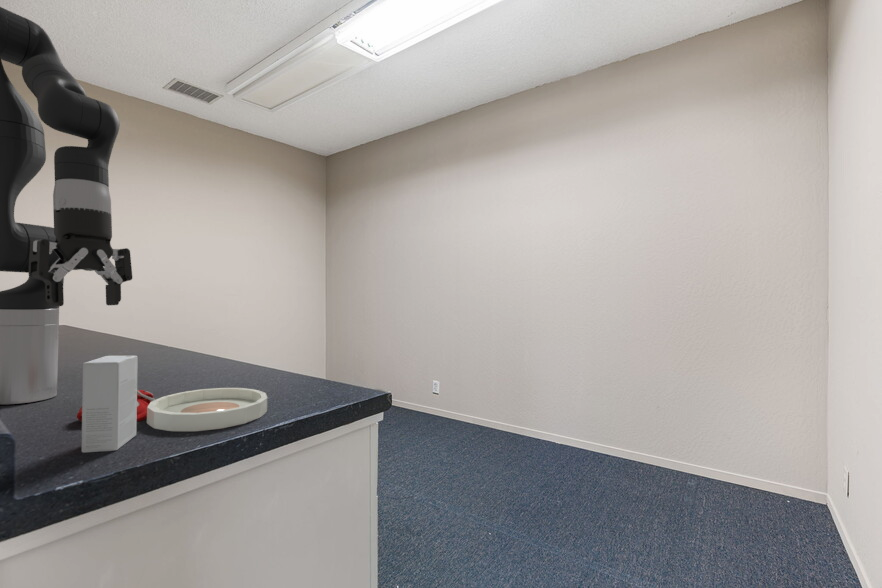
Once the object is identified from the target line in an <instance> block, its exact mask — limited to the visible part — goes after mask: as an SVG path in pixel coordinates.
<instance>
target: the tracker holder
mask: <svg viewBox="0 0 882 588" xmlns="http://www.w3.org/2000/svg"><path fill="white" fill-rule="evenodd" d="M154 400H156V399H155V398H154V394H153V393H152V392H150V391H147V390H144V389H139V388H137V423H138V422H140V421H143V420H147V407H148V405H149V404H150V402H152V401H154ZM76 418H77V420H79V422H82V406H81V407H80V409H79V410H78V412H77V414H76Z"/></svg>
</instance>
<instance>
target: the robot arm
mask: <svg viewBox="0 0 882 588" xmlns="http://www.w3.org/2000/svg"><path fill="white" fill-rule="evenodd" d="M3 61H5V62H7V63H11V64H13V65H15V66H18V67H21V76H22V80H23V81H24V83H25V85H26V86H27V88H28V89H29V91H30V92H31V93H32V94H33V95H34V97H35V98H36V101H37V112H38V116H37V113H35V112H34V110H33V109H32V108H31V106H30V105H29V104H28V102H27V101H26V100H25V99H24V97H23V96H22V95H21V94H20V92H19V91H18V89H16V87H15V85H13V83H12V81H11V80H10V79H9V76H8V75H7V72H6V70H5V69H4V65H3V63H2V62H3ZM39 118H40V119H39ZM40 120H41V121H40ZM41 122H43V123H44V124H45V125H46V126H48V127H49V128H50V129H53V130H55V131H58V132H60V133H64V134H67V135H71V136H74V137H78V138H81V139H86V140H87V146H74V145H69V146H68V145H66V146H61V147H58V148H57V149H56V150H54V151H55V152H54V157H53V163H54V168H53V169H54V187H53V191H52V192H53V193H52V200H53V201H52V203H53V204H52V205H53V206H52V209H53V211H52V212H53V227H51V226H45V225H38V224H30V223H23V222H22V223H21V222H17V221H16V220H15V207H16V202H17V199H18V197H19V195H20V193H21V192H22V191H23V189H25V188H26V186H27V185H28V184H29V183H30V182H31V181H32V180H33V179H34V178H35V177H36V176H37V174H38V173H39V172H40V171H41V170H42V169H43V167H44V165H45V163H46V159H47V153H46V150H47V149H46V142H45V141H46V140H45V131H44V126H43V124H42V123H41ZM119 131H120V120H119V116H118V114H117V112H116V110H115V109H114V108H113V107H112V106H111V105H109V104H108V103H105V102H103V101H101V100H98V99H95V98H92V97H89V96H87V93H86V91H85V89H84V88H83V87H82V85H81V84H80V83H79V82H78V80H77V79H76V78H75V77H74V76H73V75H72V73H70V72H69V70H67V68H66V67H65V65H64V64H63V62H62V59H61V58H60V55H59V53H58V51H57V49H56V48H55V45H54V44H53V41H52V40H51V37H50V36H49V35H48V34H47V32H46V30H45V29H43V28H42V27H41V26H40V25H39V24H37V23H36V22H34V21H33V20H30V19H28V18H27V17H24V16H21V15H20V14H17V13H15V12H13V11H11V10H8V9H6V8H3V7H2V6H0V272H5V273H8V272H9V273H10V272H11V273H27V274H28V278H27V280H26V281H25V282H23V283H22V284H19V285H17V286H15V287H13V288H9V289H5V290H0V405H15V404H16V405H17V404H25V403H27V404H28V403H34V402H38V401H39V402H41V401H44V400H49V399H51V398H55V397H56V396H57V395H58V371H59V369H58V366H59V336H60V333H59V332H60V331H59V330H60V307H63V306H64V302H65V301H64V299H65V298H64V297H65V296H64V281H65V277H66V275H67V274H69V273H70V272H71V271H80V270H83V271H88V272H93V271H94V272H95V273H96V275H99V276H100V277H101V278H102V280H104V282H105V283H106V284H105V304H106V306H118V305H119V304H120V302H121V300H122V284H123V283H125V282H128V281H132V280H133V271H132V257H131V250H130V249H129V248H127V247H126V248H125V247H124V248H113V247H112V244H111V241H112V238H113V228H112V227H113V225H112V224H113V223H112V222H113V219H112V199H111V194H110V185H109V183H110V181H109V180H110V179H109V164H110V159H111V156H112V151H113V148H114V144H115V142H116V140H117V137H118V134H119ZM111 258H112V259H113V260H114V264H113V262H112V261H111V260H110V259H111Z"/></svg>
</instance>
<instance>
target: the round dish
mask: <svg viewBox="0 0 882 588" xmlns="http://www.w3.org/2000/svg"><path fill="white" fill-rule="evenodd" d="M267 412H268V395H267V393H266V392H264V391H261V390H258V389H254V388H246V387H218V388H217V387H213V388H201V389H193V390H186V391H181V392H177V393H172V394H169V395H164V396H161V397H159V398H156V399H155V400H154V401H152V402H150V404H149V405H148V407H147V418H146V424H147V425H148V426H150V427H151V428H153V429H155V430H161V431H166V432H202V431H210V430H220V429H221V430H222V429H226V428H230V427H235V426H241V425H244V424H247V423H250V422H252V421H255V420H258V419H260V418H261V417H263V416H264V415H265V414H266V413H267Z"/></svg>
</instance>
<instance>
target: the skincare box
mask: <svg viewBox="0 0 882 588" xmlns="http://www.w3.org/2000/svg"><path fill="white" fill-rule="evenodd" d="M138 357H139V356H137V355H105V356H101V357H99V358H95V359H92V360H89V361H85V362H83V363H82V393H81V395H82V397H81V399H82V401H81V402H82V403H81V407H82V421H81V453H84V454H85V453H95V452H96V453H97V452H113V451H114V452H115V451H118V450H119V449H120V448H122V447H123V446H124V445H125V444H127V443H128V442H129V441H131V440H132V439H133V438H134V437H135V436H137V425H138V422H137V389H138V371H139V370H138V369H139V361H138V360H139V359H138Z"/></svg>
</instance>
